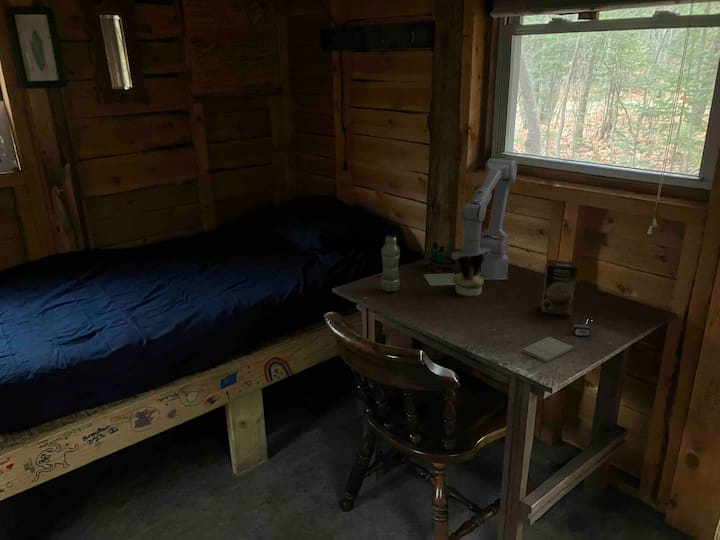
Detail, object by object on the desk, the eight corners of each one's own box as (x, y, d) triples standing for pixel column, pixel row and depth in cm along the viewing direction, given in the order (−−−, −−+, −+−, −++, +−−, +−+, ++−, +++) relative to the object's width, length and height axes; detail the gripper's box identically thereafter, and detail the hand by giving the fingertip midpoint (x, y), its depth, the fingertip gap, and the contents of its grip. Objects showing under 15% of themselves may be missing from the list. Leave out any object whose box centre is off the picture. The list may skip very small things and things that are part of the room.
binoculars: (461, 246, 217) (439, 247, 213) (457, 272, 220) (436, 274, 216) (448, 240, 225) (427, 241, 220) (445, 266, 228) (424, 267, 223)
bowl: (476, 288, 202) (476, 280, 201) (483, 296, 194) (484, 288, 193) (453, 288, 201) (453, 281, 200) (459, 297, 193) (460, 289, 192)
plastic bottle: (402, 292, 198) (404, 238, 191) (385, 295, 196) (386, 240, 189) (395, 286, 204) (396, 233, 197) (377, 289, 201) (378, 235, 195)
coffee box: (541, 312, 181) (546, 265, 176) (540, 304, 187) (546, 259, 182) (571, 315, 179) (577, 267, 174) (570, 307, 185) (576, 261, 180)
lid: (471, 274, 203) (473, 259, 201) (489, 284, 194) (491, 269, 192) (447, 278, 199) (448, 263, 197) (465, 288, 190) (466, 273, 188)
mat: (453, 274, 215) (454, 273, 215) (462, 285, 204) (462, 284, 204) (423, 275, 214) (423, 274, 214) (430, 287, 203) (430, 285, 203)
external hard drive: (572, 351, 157) (546, 364, 150) (547, 341, 163) (521, 353, 156) (573, 346, 157) (547, 359, 149) (548, 336, 163) (521, 348, 155)
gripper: (482, 233, 197) (479, 269, 202) (447, 238, 192) (445, 275, 196) (494, 238, 191) (491, 275, 196) (459, 243, 186) (457, 282, 190)
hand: (469, 276), depth 196 cm, fingers closed on lid, 3 cm apart
